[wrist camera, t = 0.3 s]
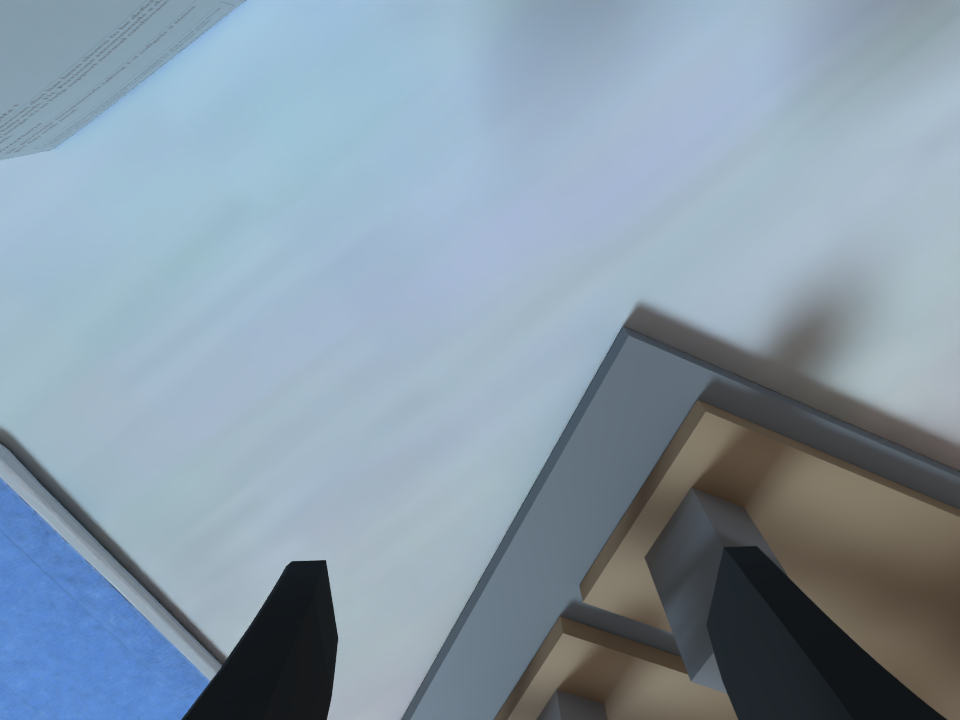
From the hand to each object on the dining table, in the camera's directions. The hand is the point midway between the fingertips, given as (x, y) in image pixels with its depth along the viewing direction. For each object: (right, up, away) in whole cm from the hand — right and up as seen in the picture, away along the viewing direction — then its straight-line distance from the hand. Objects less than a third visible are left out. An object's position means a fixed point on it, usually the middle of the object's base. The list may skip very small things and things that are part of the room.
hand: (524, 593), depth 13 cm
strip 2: (+17, -5, +14) cm, 22 cm away
